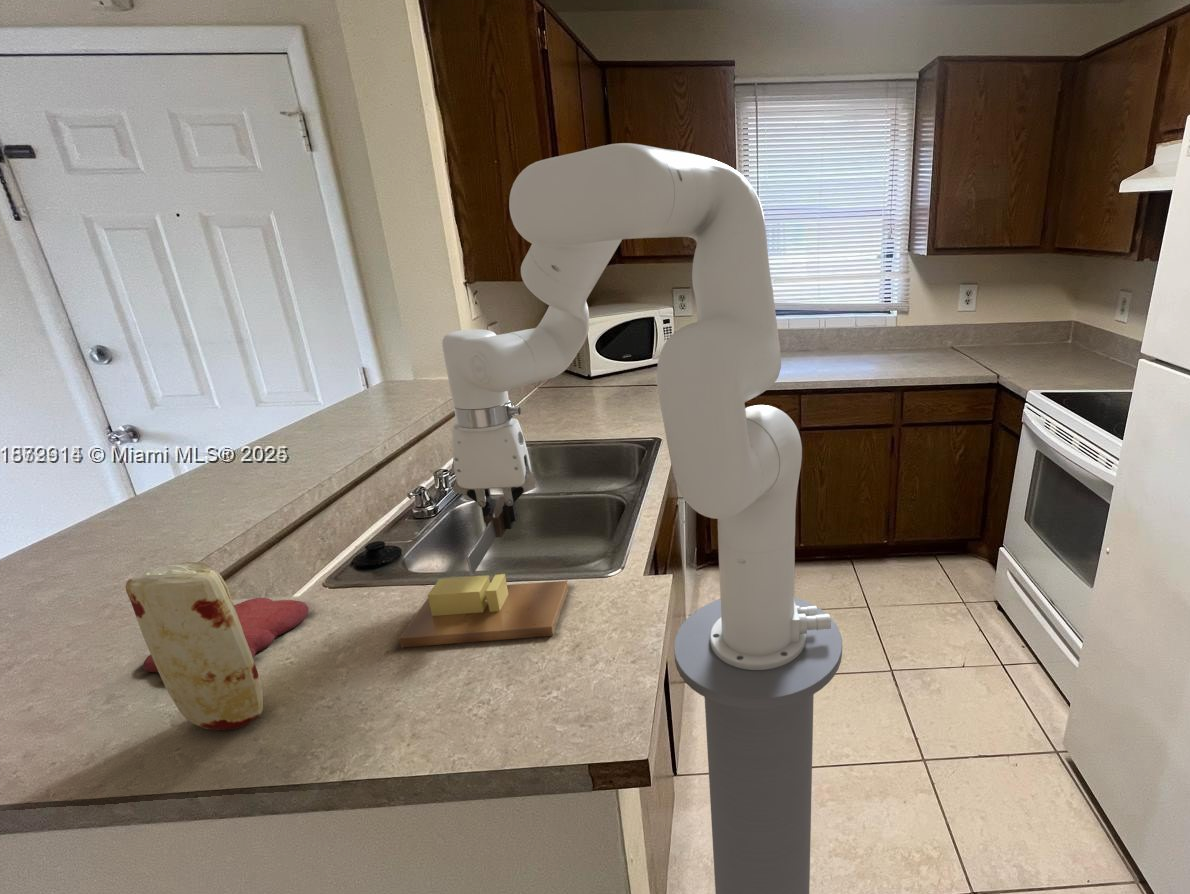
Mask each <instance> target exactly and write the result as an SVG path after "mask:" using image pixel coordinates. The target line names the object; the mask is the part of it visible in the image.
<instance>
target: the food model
mask: <svg viewBox="0 0 1190 894" xmlns="http://www.w3.org/2000/svg"><path fill="white" fill-rule="evenodd" d="M125 592H126V594H127V597H128V600H129V601H130V604H131V606H132V609H133V612H134V615H135V618H136V620H137V624H138V626H139V629H140V632H141V636H142V638H143V640H144V642H145V644H146V646H147V649H148V652H149V653H150V654H151V656H152V658H153V660H154V663H155V665H156V667H157V669H158V672H157V673H158V674H159V676H160V678H161V681H162V683H163V685H164V687H165V689H166V691H167V693H168V695H169V697H170V699H171V700H172V701H173V703H174V705H175V706H176V708H177V709H178V711H179V712H180V713H181V715H182V716H183V717H184V718H186V720H188V722H190V723H192V724H194V725H195V726H197V727H201V728H203V729H205V730H213V731H219V730H221V731H223V730H234V729H240V728H242V727H244V726H246V725H247V726H248V725H249V724H250V723H251V722H252V721H254V720H256V719H257V718H258V717H260V715H262V713H263V709H264V695H263V688H262V682H261V678H260V676H259V672H258V669H257V667H256V662H255V659H254V658H253V657H252V654H251V651H250V649H249V646H248V643H247V640H246V637H245V635H244V632H243V629H242V626H241V623H240V621H239V618H238V615H237V612H236V610H235V607H234V605H235V604H234V601H233V599H232V596H231V593H230V590H229V587H228V584H227V582H226V581H225V580H224V578H223V577H222V575H221V573H219V572H218V571H217V570H215V569H214V567H212V566H211V565H209V564H208V563H206V562H198V561H197V562H196V561H185V562H179V563H178V562H177V563H173V564H168V565H164V566H161V567H156V568H153V569H151V570H149V571H146V572H144V573H142V574H140V575H137V576H136V577H132V578H129V579H128V580H127V581H126V583H125Z"/></svg>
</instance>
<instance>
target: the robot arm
mask: <svg viewBox="0 0 1190 894" xmlns="http://www.w3.org/2000/svg"><path fill="white" fill-rule="evenodd" d="M508 205H509V206H508V208H509V215H510V219H511V222H512V225H513V226H514V228H515V230H516V231H517V233H518V234H519V235H520V236H521V237H522V238H523V239H524V240H526V241H527V242H528V243H530V244H531V245H530V247H529V249H528V251H527V253H526V254H525V257H524V259H523V260H522V262H521V266H520V277H521V279H522V282H523V283H524V285H525V287H526V289H528V290H529V292H530V293H532V294H533V295H534V296H535V297H536V298H537V299H539V300H540V301H542V302H543V303H544V304H546V305H548V308H547V309H546V311H545V313H544V315H543V317H542V318H541V320H540V322H539V323H538V325H537V326H536V327H534V328H527V329H521V330H516V331H511V332H506V333H501V334H497V333H496V332H494V331H492V330H490V329H489V330H488V329H481V328H476V329H475V328H474V329H473V328H472V329H461V330H455V331H451V332H449V333H446V334H445V335H444V336H443V338H442V341H441V344H442V345H441V346H442V353H443V357H444V363H445V368H446V373H447V379H448V384H449V385H448V386H449V389H450V394H451V401H452V405H453V410H454V416H455V422H456V423H455V424H454V425H453V426H452V439H451V440H452V446H451V447H452V462H453V470H454V477H455V480H454V483H453V488H452V491H453V492H454V493H456V494H460V495H463V496H467V497H468V498H470V499H471V500H472V501H474V502H475V503H477V506H478V507H479V508H481V512H482V517H483V522H484V524H486V522H485V517H486V516H487V514H488V513H489V512H490V510H491V509H492V508H493V506H494V505H495V503H496V502H497V501H496V500H495V499H494V498H492V494H491V489H502V491H503V492H502V493H503V496H504V499H505V501H504V503H505V504H504V506H503V512H504V518H505V524H506V528H507V529H506V530H512V528H513V527H514V525H515V523H517V522H518V519H519V514H518V513H519V512H518V507H517V500H518V499H519V498H520V497H521V496H522V495H523V494H525V493H527V492H531V491H532V490H534V489H536V487H537V485H538V481H537V480H536V478H535V476H534V475H533V474H532V465H531V460H530V456H529V451H528V448H527V444H526V440H525V436H524V433H523V430H522V427H521V424H520V421H519V420H518V419H517V418H513V417H516V416H521V411H522V410H521V406H519V405H516V406H515V405H513V404H512V402H511V400H510V398H509V391H512V390H516V389H519V388H520V389H521V388H523V387H526V386H528V385H533V384H536V383H540V382H543V381H547V380H550V379H554V378H557V377H558V376H560V375H561V374H563V373H564V372H565V371H566V370H567V369H568V368H569V367H570V365H571V364H572V363H573V362H574V360H575V358H577V355H578V354H579V352H580V350H581V349H582V347H583V346H584V344H585V342H586V340H587V337H588V334H589V328H590V311H589V306H588V303H587V300H588V298H589V296H590V294H591V292H592V291H593V289H594V288H595V286H596V285H597V283H598V281H599V279H600V277H601V276H602V274H603V273H604V271H605V269H606V268H607V266H608V264H609V262H610V261H611V259H612V257H613V256H614V254H615V252H616V251H617V249H618V247H619V246H620V244H621V243H622V240H632V239H634V240H635V239H652V238H654V239H657V238H658V239H659V238H661V239H662V238H665V239H666V238H667V239H668V238H690V239H693V240H694V241H695V243H696V244H695V245H696V246H695V247H696V248H695V250H694V255H693V259H692V268H691V281H692V282H691V284H692V290H693V294H694V300H695V306H696V307H695V308H696V318H697V319H696V320H697V321H695V322H692V323H689V324H686V325H684V326H682V327H681V328H678V329H677V330H676V331H675V332H673V333H672V334H671V335H670V336H669V337H668V338H667V340H666V341H665V343H664V344H663V346H662V348H661V351H660V353H659V355H658V356H659V357H658V361H657V366H656V367H657V368H656V386H657V387H656V388H657V394H658V400H659V406H660V410H661V417H662V422H663V428H664V432H665V439H666V444H667V449H668V455H669V459H670V465H671V469H672V474H673V477H674V481H675V484H676V486H677V488H678V491H679V493H680V494H681V496H682V497H683V499H684V501H685V503H687V505H688V506H690V507H691V509H692V510H694V511H695V512H696V513H698V514H699V515H701V516H703V517H706V518H710V519H714V520H715V519H717V546H718V572H719V593H720V594H719V595H720V598H719V599H721V618H719V619H718V620H717V621H716V623H715V624H714V625H713V627H712V629H711V634H710V642H711V647H712V650H713V651H714V653H715V654H716V655H717V656H718V657H719V658H720V659H721V660H722V661H724V662H726V663H727V664H729V665H732V666H734V667H737V668H741V669H747V670H767V669H773V668H777V667H780V666H783V665H785V664H787V663H789V662H791V661H792V660H794V659H795V658H796V657H797V656H798V655H799V654H800V653H801V652H802V650H803V649H804V647H805V643H806V633H807V630H815V629H816V630H823V629H830V628H831V620H830V618H831V616H830V614H829V613H826V614H821V615H818V612H817V607H818V606H817V605H815V606H809V607H802V608H800V607H799V606H796V604H795V601H794V597H795V580H796V579H795V578H796V577H795V567H796V566H795V565H796V564H795V563H796V561H795V560H796V556H795V555H796V554H795V553H796V551H795V550H796V509H797V495H798V487H799V482H800V481H799V480H800V475H801V473H800V472H801V469H802V461H803V445H802V438H801V435H800V431H799V429H798V427H797V425H796V423H795V422H794V421H793V419H792V418H791V417H790V416H789V415H788V413H786V412H784V411H783V410H781V409H779V408H777V407H775V406H772V405H765V404H757V405H751V406H746V405H745V403H746V402H748V401H750V400H752V399H754V398H757V397H758V396H760V395H761V394H763V393H764V392H766V391H767V390H769V389H770V388H771V387H773V385H774V384H775V383H776V382H777V380H778V378H779V377H780V373H781V369H782V354H781V343H780V337H779V329H778V324H777V323H778V322H777V313H776V306H775V305H776V304H775V297H774V289H773V283H772V277H771V271H770V270H771V269H770V261H769V252H768V238H767V230H766V229H767V228H766V221H765V215H764V211H763V208H762V207H763V206H762V203H761V201H760V198H759V196H758V194H757V192H756V191H755V189H754V187H753V185H752V184H751V183H750V182H749V180H748V179H747V178H746V177H745V176H744V175H743V174H742V173H741V172H739V171H738V170H736V169H734V168H733V167H731V166H729V165H728V164H726V163H724V162H721V161H718V160H716V159H713V158H710V157H707V156H704V155H700V154H695V153H691V152H686V151H681V150H675V149H666V148H661V147H655V146H650V145H646V144H639V143H630V142H628V143H627V142H621V143H610V144H607V145H600V146H596V147H592V148H588V149H583V150H581V151H580V150H579V151H576V152H571V153H567V154H566V153H565V154H561V155H558V156H554V157H549V158H545V159H541V160H538V161H535V162H533V163H531V164H529V165H527V166H526V167H525V168H524V169H522V171H521V172H519V174H518V175H517V176H516V178H515V180H514V182H513V183H512V185H511V189H510V193H509V202H508Z"/></svg>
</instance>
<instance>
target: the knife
mask: <svg viewBox="0 0 1190 894" xmlns="http://www.w3.org/2000/svg"><path fill="white" fill-rule="evenodd" d="M504 501H505V499H504V495H502V496H499V497H498V499H497V500H496V501H495V502H496V503H495V505H494V506H493V508H492V509H491V510H490V512H489V513H488V514H487V516H486V517H485V522H486V523H485V522H484V523H485V526H486V527H485V528H484V530H483V531H482V533H481V534H480V536H479V537H478V539H477V541H475V544H473V546H472V548H471V549H470V550H469V552H468V554H467V555H466V562H467V567H468V572H469V577H471V576H474V574H475V572H476V571H477V569H478V568H479V566H480V565H481V563H482V561H483V559H484V558H485V557H486V555H487V553H488V552H489V550H490V548H491V547H492V545H493V543H494V542H495V540H496V539H497V538H502V537H503V536H504V534H506V531H507V530H508V529H507V528H506V524H505V518H504V512H503V506H504V504H505V503H504Z"/></svg>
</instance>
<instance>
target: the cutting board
mask: <svg viewBox="0 0 1190 894" xmlns="http://www.w3.org/2000/svg"><path fill="white" fill-rule="evenodd" d="M507 589H508V596H507V598H506V600H505V602H504V604H503V606H502V608H501V610H500V611H497V612H490V610H489V605H488V604H487V606H486V608H485V610H484V612H482V613H468V614H455V615H441V616H432V613H431V609H430V604H429V600H428V598H427V599H426V600H425V602H423V605H422V606H421V607H420V608H419V610H418V611H417V613H416V614H415V616H414V617H413V618H412V620H411V621H410V623H409V624H408V625H407V626H406V628H405V629H404V631H403V633H402V634H401V635H400V636H399V638H398V641H399V644H400V648H414V647H426V646H438V645H450V644H462V643H463V644H464V643H465V644H466V643H475V642H489V641H500V640H514V639H526V638H527V639H529V638H539V637H541V638H542V637H551V636H554V633H555V631H556V628H557V624H558V622H559V619H560V617H561V613H562V610H563V608H564V605H565V600H566V598H567V596H568V593H569V589H570V588H569V580H561V581H560V580H559V581H546V582H531V583H516V584H515V583H514V584H507Z"/></svg>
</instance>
